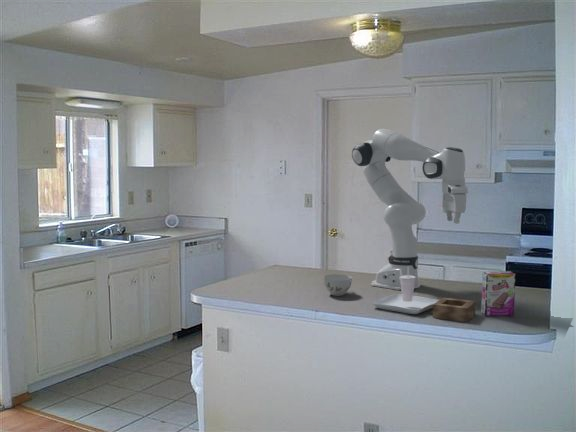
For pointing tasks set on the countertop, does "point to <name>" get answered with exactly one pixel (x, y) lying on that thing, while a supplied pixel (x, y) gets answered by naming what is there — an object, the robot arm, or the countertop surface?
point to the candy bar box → (498, 293)
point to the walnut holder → (454, 309)
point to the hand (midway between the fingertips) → (453, 222)
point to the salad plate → (405, 304)
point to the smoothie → (407, 286)
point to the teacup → (337, 283)
